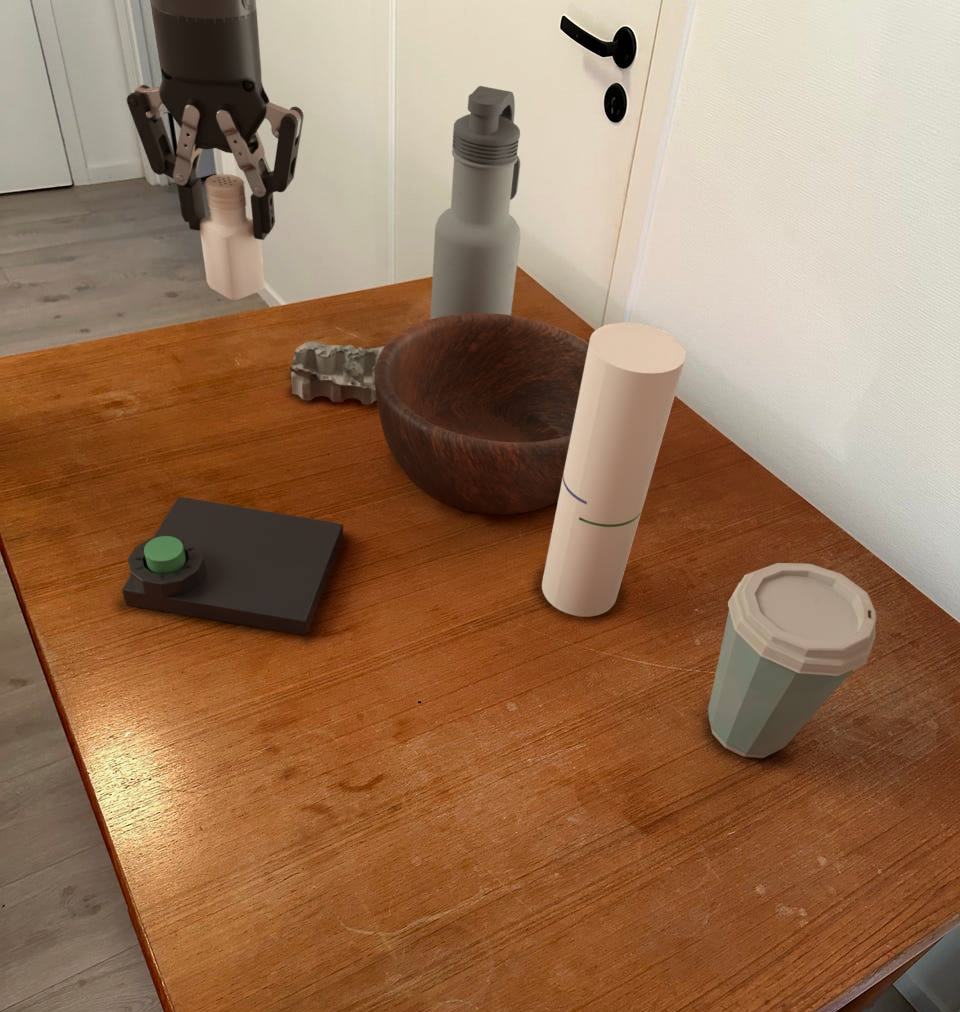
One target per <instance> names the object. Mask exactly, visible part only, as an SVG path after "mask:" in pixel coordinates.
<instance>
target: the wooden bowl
mask: <svg viewBox="0 0 960 1012" xmlns="http://www.w3.org/2000/svg"><path fill="white" fill-rule="evenodd" d="M588 346H589V341H587V340H585V339H583V338H582V337H580V336H578V335H576V334H574V333H572V332H570V331H568V330H566V329H564V328H561V327H559V326H555V325H553V324H551V323H547V322H543V321H540V320H537V319H534V318H529V317H523V316H519V315H514V314H513V315H512V314H511V315H505V314H494V313H466V314H455V315H449V316H443V317H438V318H434V319H431V320H430V319H428V320H424V321H421V322H418V323H416V324H414V325H412V326H410V327H408V328H406V329H404V330H402V331H401V332H398V333H397V334H396V335H395V336H393V337H392V338H391V339H390V340H389V341H388V342H387V343H386V344H385V345H384V348H383V349H382V351H381V353H380V354H379V357H378V360H377V363H376V367H375V375H374V379H375V390H376V397H377V400H376V402H377V409H378V414H379V415H378V416H379V421H380V424H381V428H382V432H383V436H384V439H385V442H386V444H387V446H388V449H389V451H390V454H391V455H392V457H393V458H394V460H395V462H396V464H397V465H398V467H399V468H400V469H401V471H402V472H403V473H404V474H405V476H406V477H407V478H408V480H410V481H411V482H412V483H413V484H414V485H415V486H416V487H417V488H418V489H420V490H421V491H423V492H425V493H426V494H428V495H429V496H431V497H432V498H434V499H436V500H438V501H440V502H442V503H445V504H447V505H449V506H452V507H455V508H457V509H461V510H465V511H468V512H473V513H480V514H487V515H516V514H517V515H518V514H523V513H529V512H534V511H537V510H541V509H544V508H548V507H550V506H552V505H555V504H556V503H557V504H558V499H559V494H560V489H561V484H562V479H563V474H564V468H565V463H566V458H567V453H568V448H569V443H570V438H571V433H572V428H573V423H574V418H575V413H576V408H577V402H578V397H579V392H580V387H581V382H582V377H583V372H584V367H585V362H586V357H587V351H588Z"/></svg>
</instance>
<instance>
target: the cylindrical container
mask: <svg viewBox="0 0 960 1012" xmlns="http://www.w3.org/2000/svg"><path fill="white" fill-rule="evenodd" d="M588 343H589V346H588V351H587V357H586V362H585V367H584V372H583V377H582V382H581V387H580V392H579V397H578V402H577V408H576V413H575V418H574V423H573V428H572V433H571V438H570V443H569V448H568V453H567V458H566V463H565V468H564V474H563V479H562V484H561V489H560V494H559V499H558V502H557V505H556V510H555V515H554V520H553V524H552V530H551V534H550V539H549V544H548V550H547V555H546V560H545V565H544V571H543V576H542V581H541V589H542V593H543V595H544V597H545V599H546V600H547V602H548V603H550V604H551V605H552V606H553V607H554V608H556V609H557V610H559V611H561V612H563V613H565V614H567V615H571V616H575V617H580V618H581V617H583V618H584V617H585V618H586V617H587V618H588V617H589V618H590V617H595V616H596V617H597V616H599V615H602V614H604V613H607V612H608V611H610V610H611V608H613V606H614V605H615V604H616V601H617V598H618V594H619V592H620V588H621V585H622V581H623V578H624V574H625V570H626V567H627V563H628V560H629V558H630V557H629V556H630V553H631V550H632V546H633V543H634V540H635V536H636V533H637V529H638V526H639V522H640V519H641V516H642V511H643V508H644V504H645V502H646V497H647V495H648V491H649V488H650V483H651V480H652V477H653V473H654V470H655V467H656V463H657V459H658V455H659V454H660V453H659V452H660V448H661V445H662V442H663V440H664V435H665V431H666V427H667V425H668V421H669V417H670V414H671V410H672V407H673V404H674V399H675V396H676V393H677V390H678V386H679V383H680V379H681V375H682V371H683V368H684V365H685V361H686V358H687V352H686V348H685V346H684V345H683V344H682V342H680V340H678V339H677V338H676V337H675V336H673V335H672V334H671V333H669V332H667V331H665V330H663V329H662V328H661V329H660V328H658V327H655V326H652V325H649V324H648V325H647V324H645V323H644V324H643V323H638V322H628V321H627V322H625V321H624V322H623V321H621V322H612V323H608V324H604V325H602V326H600V327H598V328H596V329H595V330H594V331H593V332H591V335H590V337H589V341H588Z"/></svg>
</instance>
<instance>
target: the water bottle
mask: <svg viewBox="0 0 960 1012" xmlns="http://www.w3.org/2000/svg"><path fill="white" fill-rule="evenodd" d="M467 99H468V100H467V111H468V112H470V113H469V114H466V115H463V116H461V117H459V118H458V119H456V120H455V121H454V123H453V131H452V132H453V133H452V150H451V156H452V157H453V166H452V167H453V169H452V185H451V198H450V199H451V200H450V207H449V208H447V209H446V210H444V211H443V212H441V214H440V215H439V217H438V218H437V220H436V223H435V226H434V227H435V228H434V245H433V262H432V278H431V279H432V280H431V298H430V299H431V300H430V319H429V320H431V319H434V318H438V317H443V316H449V315H455V314H466V313H494V314H505V315H512V309H513V300H514V293H515V292H514V291H515V285H516V284H515V283H516V277H517V268H518V259H519V253H520V252H519V251H520V244H521V229H520V226H519V224H518V222H517V221H516V219H515V218H514V217H513V216H512V215H511V214H510V207H511V206H510V204H511V200H513V199H514V198H515V197H516V195H517V194H518V193H517V192H518V187H519V179H520V171H521V170H520V169H521V160H520V159H521V158H520V157H519V156H518V148H519V140H520V138H521V130H520V128H519V126H518V125H517V124H515V123H514V122H515V113H516V112H515V111H516V107H515V106H516V103H515V95H514V93H513V91H509V90H505V89H498V88H493V87H489V86H483V85H479V86H478V87H476V89H475V90H473V92H472V93H470V94H469V95H468V98H467Z"/></svg>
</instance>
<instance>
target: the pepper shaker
mask: <svg viewBox="0 0 960 1012" xmlns="http://www.w3.org/2000/svg"><path fill="white" fill-rule="evenodd" d="M204 184H205V191H206V192H205V193H206V194H205V195H206V201H207V206H208V208H209V214H208V215H205V216H206V217H205V218H203V219H202V220H201V222H200V223H199V226H200V230H199V234H200V241H201V248H202V255H203V262H204V270H205V271H204V272H205V278H206V283H207V285H208V287H209V288H210V289H211V290H214V291H215V292H217V293H218V294H220V295H221V296H223V297H225V298H226V299H228V300H231V301H238V300H241V299H244V298H246V297H250V296H252V295H254V294H256V293H257V294H258V293H259V292H262V291H263V290H264V289H265V286H266V283H265V273H264V270H265V269H264V261H263V249H262V248H263V247H262V240H260V239H255V238H254V230H253V219H252V216H250V215H247V209H246V206H247V197H246V186H245V180H243V178H242V177H240V176H238V175H235V174H227V173H218V174H213V175H210V176H208V177H207V178H205V181H204Z"/></svg>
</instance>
